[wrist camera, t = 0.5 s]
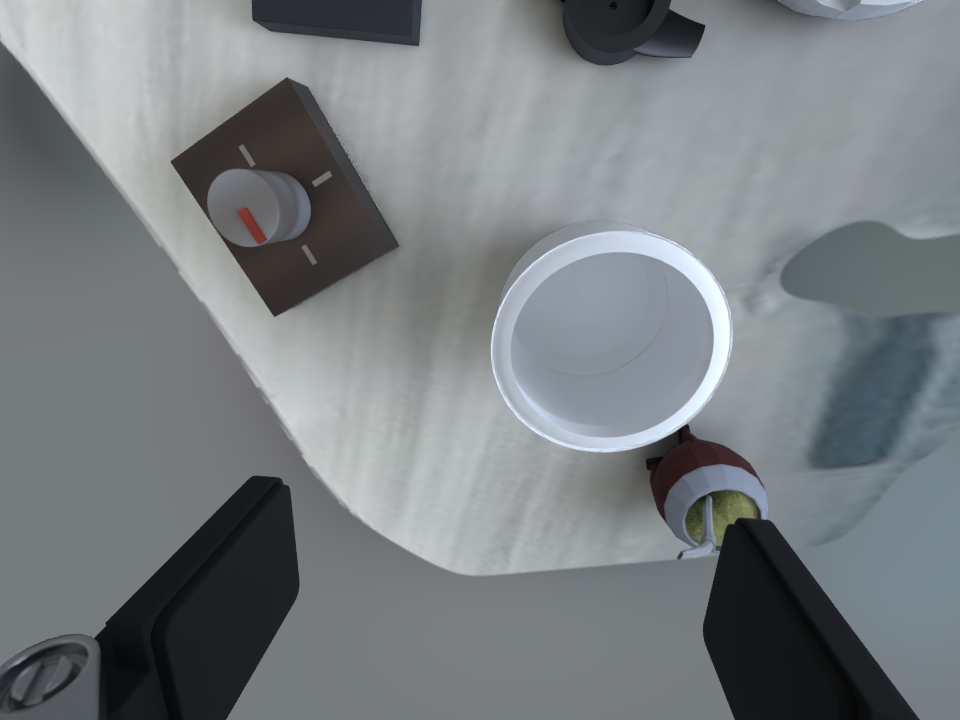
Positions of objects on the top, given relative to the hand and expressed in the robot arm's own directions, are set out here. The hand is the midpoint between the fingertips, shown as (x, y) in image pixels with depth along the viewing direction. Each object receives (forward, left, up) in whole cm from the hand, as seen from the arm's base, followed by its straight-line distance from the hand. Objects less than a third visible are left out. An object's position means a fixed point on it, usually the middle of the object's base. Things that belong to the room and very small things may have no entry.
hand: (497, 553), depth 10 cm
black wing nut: (-17, +6, -28) cm, 33 cm away
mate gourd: (+14, +12, -28) cm, 33 cm away
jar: (0, +4, -28) cm, 28 cm away
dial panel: (-7, -16, -28) cm, 33 cm away
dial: (-7, -16, -24) cm, 30 cm away
